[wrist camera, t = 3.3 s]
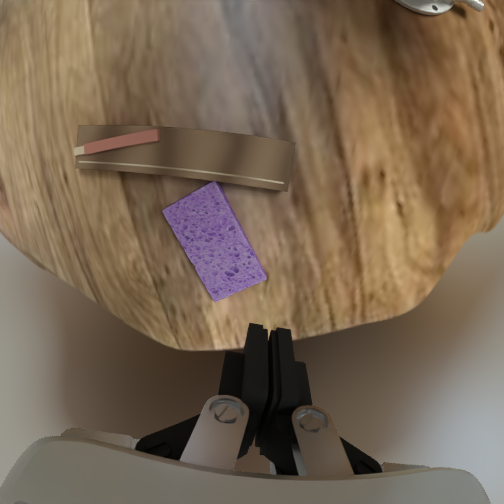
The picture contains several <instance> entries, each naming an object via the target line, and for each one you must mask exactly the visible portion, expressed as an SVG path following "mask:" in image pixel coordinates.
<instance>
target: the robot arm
mask: <svg viewBox="0 0 504 504" xmlns="http://www.w3.org/2000/svg"><path fill="white" fill-rule="evenodd" d="M395 1H396V2H398V3H399V4H401V5H402V6H404V7H406V8H408V9H410V10H412V11H415V12H418V13H421V14H426V15H439V14H443V13H445V12H446V11H448V10H449V9H451V8H452V6H453V4H454V2H455V1H457V2H459V3H460V2H464V3H465V4H467V5H468V6H469V7H471V8H473V9H474V10H476V11H478V12H480V11H482V9H483V7H484V4H483V2H482V1H480V0H395ZM254 437H255V447H260V455H264V456H265V457H267V458H268V459H269V460H270V461H271V462H270V470H271V474H261V473H250V472H241V471H234V470H233V469H234V466H235V463H236V460H237V459H239V458H240V457H242V456H244V455H246V454H247V452H248V449H249V446H251V445H252V443H253V440H254ZM0 504H491V502H490V500H489V498H488V496H487V494H486V492H485V490H484V488H483V487H482V485H481V483H480V482H479V481H478V479H477V478H476V477H475V476H474V475H473V474H471V473H469V472H467V471H464V470H461V469H454V468H444V467H435V468H430V467H428V466H423V465H407V464H396V463H386V462H384V463H383V464H382V465H380V464H379V463H378V462H377V461H376V460H374V459H373V458H371V457H370V456H368V455H367V454H365V453H364V452H362V451H360V450H359V449H357V448H356V447H354V446H353V445H351V444H350V443H348V442H347V441H345V440H344V439H342V438H341V437H340V436H339V435H338V433H337V430H336V428H335V425H334V423H333V420H332V418H331V416H330V415H329V414H328V413H327V412H326V411H325V410H323V409H321V408H319V407H316V406H312V400H311V394H310V388H309V382H308V376H307V370H306V365H305V363H304V362H297V361H295V359H294V352H293V344H292V336H291V330H290V329H284V328H278V327H277V328H276V331H275V330H271V332H270V336H269V340H268V330H267V329H263V325H259V324H253V323H249V327H248V332H247V337H246V341H245V346H244V351H243V353H237V352H232V351H226V353H225V359H224V365H223V370H222V376H221V382H220V387H219V393H218V396H215V397H212V398H211V399H209V400H208V401H207V402H206V404H205V406H204V408H203V410H202V412H201V414H199V415H197V416H195V417H192V418H190V419H188V420H185V421H183V422H180V423H179V424H176V425H173V426H171V427H168V428H166V429H163V430H160V431H158V432H155V433H153V434H150V435H147V436H145V437H143V438H141V439H131V436H127V435H119V434H112V433H105V432H99V431H93V430H87V429H82V428H70V429H67V430H66V431H64V432H63V433H62V434H61V436H50V437H44V438H41V439H39V440H37V441H35V442H34V443H32V444H31V445H30V446H29V447H28V448H27V449H26V450H25V451H24V452H23V453H22V455H21V456H20V457H19V459H18V460H17V461H16V463H15V464H14V466H13V467H12V469H11V470H10V472H9V473H8V475H7V477H6V479H5V480H4V482H3V484H2V486H1V487H0Z"/></svg>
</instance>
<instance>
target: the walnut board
mask: <svg viewBox="0 0 504 504" xmlns="http://www.w3.org/2000/svg"><path fill="white" fill-rule="evenodd" d="M154 129H159V133H160V141H154V142H148V143H142V144H136V145H131V146H125V147H120V148H115V149H110V150H105V151H101V152H96V153H92V154H87V155H85V154H81V155H77V156H76V166H75V168H78V169H96V170H111V171H124V172H136V173H147V174H158V175H167V176H177V177H186V178H194V179H203V180H211V181H218V182H226V183H233V184H240V185H247V186H254V187H261V188H267V189H273V190H279V191H286V192H287V191H288V185H289V179H290V173H291V167H292V161H293V155H294V149H295V142H290V141H284V140H278V139H272V138H265V137H258V136H251V135H244V134H236V133H228V132H219V131H209V130H199V129H187V128H173V127H156V126H130V125H82V126H79V127H78V137H77V147H80V146H84V144H87V143H91V142H95V141H99V140H104V139H108V138H113V137H117V136H122V135H127V134H132V133H137V132H143V131H148V130H154Z"/></svg>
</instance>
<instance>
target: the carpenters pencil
mask: <svg viewBox="0 0 504 504" xmlns="http://www.w3.org/2000/svg"><path fill="white" fill-rule="evenodd" d="M154 141H160V133H159V129H154V130H148V131H143V132H137V133H132V134H127V135H122V136H117V137H113V138H108V139H104V140H99V141H95V142H91V143H87V144H84V146H80V147H76V148H74V156H77V155H81V154H85V155H87V154H92V153H96V152H101V151H105V150H110V149H115V148H120V147H125V146H131V145H136V144H142V143H148V142H154Z"/></svg>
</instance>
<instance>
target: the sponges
mask: <svg viewBox="0 0 504 504" xmlns="http://www.w3.org/2000/svg"><path fill="white" fill-rule="evenodd" d="M162 212H163V213H164V216H165V218H166V219H167V221H168V223H169V224H170V226H171V227H172V230H173V231H174V233H175V235H176V236H177V238H178V240H179V241H180V243H181V245H182V246H183V248H184V250H185V252H186V254H187V255H188V257H189V259H190V261H191V263H193V264H194V265H195V267H196V268H195V269H196V271H197V273H198V275H199V277H200V278H201V280H202V282H203V283H204V285H205V287H206V289H207V291H208V292H209V294H210V295H211V297H212V299H213V300H214V302H217V301H219V300H222V299H224V298H226V297H229V296H231V295H232V294H234V293H235V292H239V291H241V290H244V289H246V288H247V287H250V286H253V285H254V284H258V283H260V282H261V281H264V280H266V279H267V278H266V273H265V271H264V269H263V268H262V266H261V264H260V262H259V260H258V258H257V256H256V254H255V252H254V250H253V249H252V246H251V245H250V242H249V241H248V239H247V237H246V235H245V233H244V231H243V229H242V227H241V225H240V223H239V221H238V219H237V218H236V216H235V213H234V211H233V210H232V208H231V206H230V204H229V202H228V200H227V198H226V196H225V194H224V191H223V190H222V188H221V186H220V184H219V183H217V181H210V182H209V183H207V184H205V185H204V186H202V187H200V188H198V189H197V190H195V191H193V192H191V193H190V194H188V195H187V196H185V197H183V198H182V199H180V200H178V201H176V202H175V203H173V204H171V205H169V206H168V207H166V208H165V209H164V210H163V211H162Z"/></svg>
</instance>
